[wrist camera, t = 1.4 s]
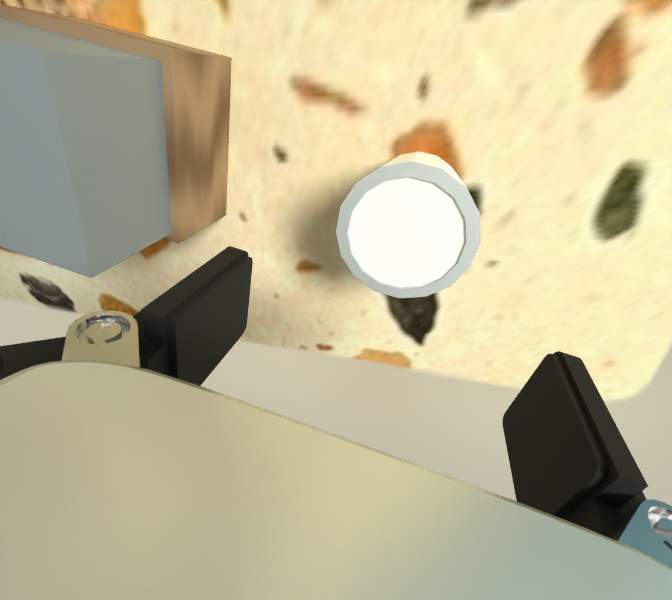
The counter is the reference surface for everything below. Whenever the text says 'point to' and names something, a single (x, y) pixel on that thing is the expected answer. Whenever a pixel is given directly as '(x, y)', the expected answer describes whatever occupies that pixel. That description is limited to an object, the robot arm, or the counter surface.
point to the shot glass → (409, 227)
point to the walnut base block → (173, 114)
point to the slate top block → (80, 150)
